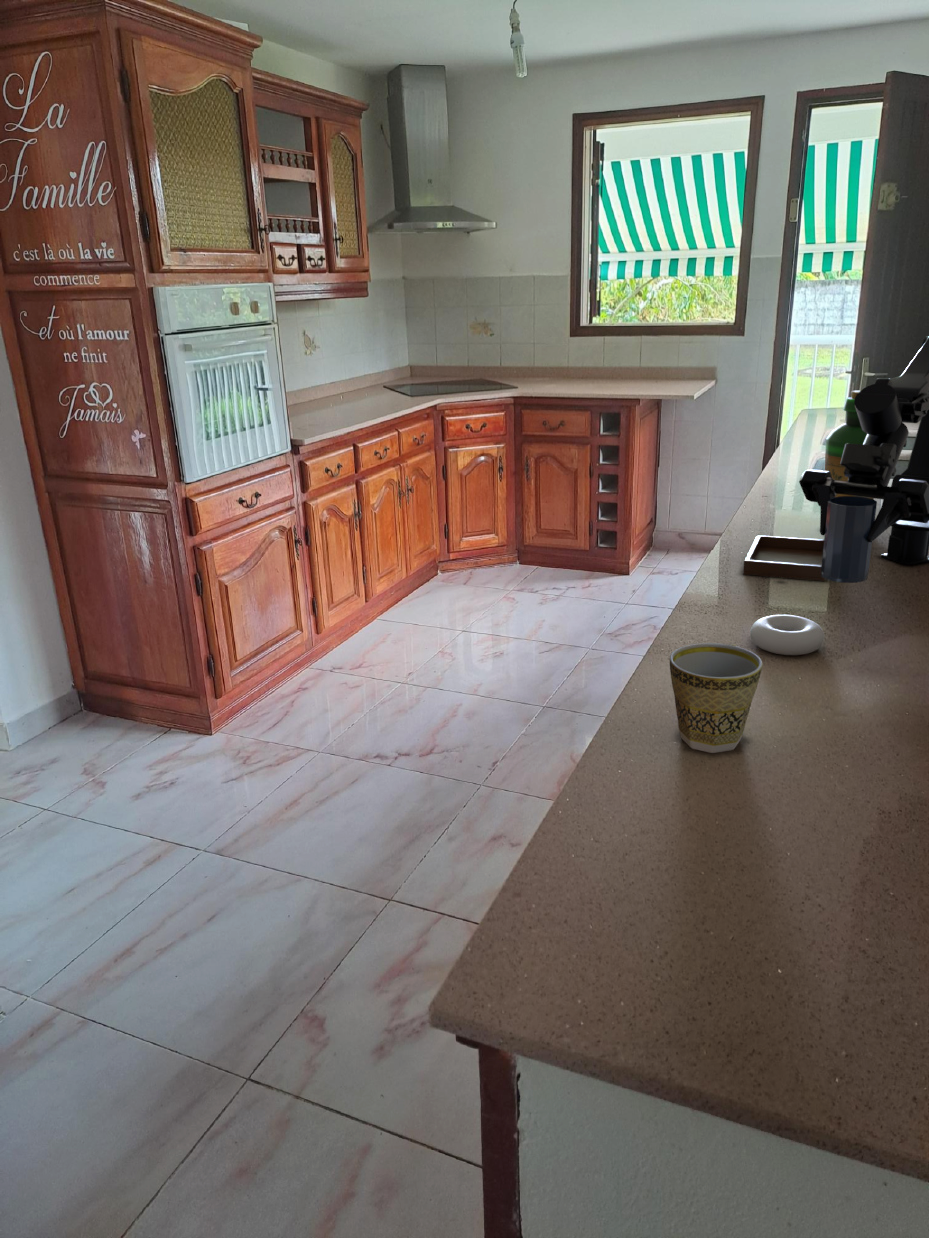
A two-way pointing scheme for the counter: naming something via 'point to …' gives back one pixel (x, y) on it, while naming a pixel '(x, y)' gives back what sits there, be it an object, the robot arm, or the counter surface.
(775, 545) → the tray
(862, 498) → the cup
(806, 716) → the counter surface
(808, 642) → the donut
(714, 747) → the ceramic cup
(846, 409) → the bottle
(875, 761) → the counter surface
